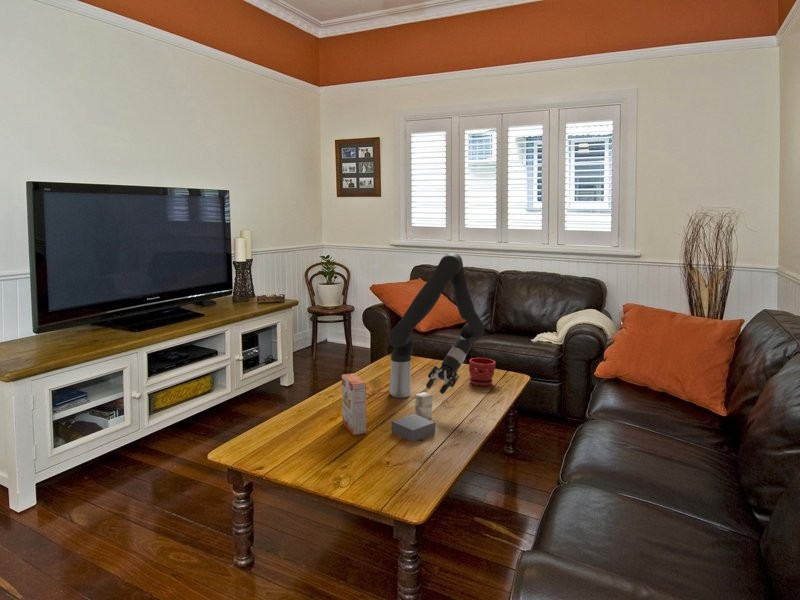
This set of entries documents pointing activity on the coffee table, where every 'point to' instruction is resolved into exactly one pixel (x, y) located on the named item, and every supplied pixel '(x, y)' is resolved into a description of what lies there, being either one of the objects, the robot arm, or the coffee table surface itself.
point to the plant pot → (481, 371)
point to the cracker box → (354, 403)
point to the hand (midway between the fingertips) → (434, 390)
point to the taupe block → (423, 405)
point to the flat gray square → (413, 427)
